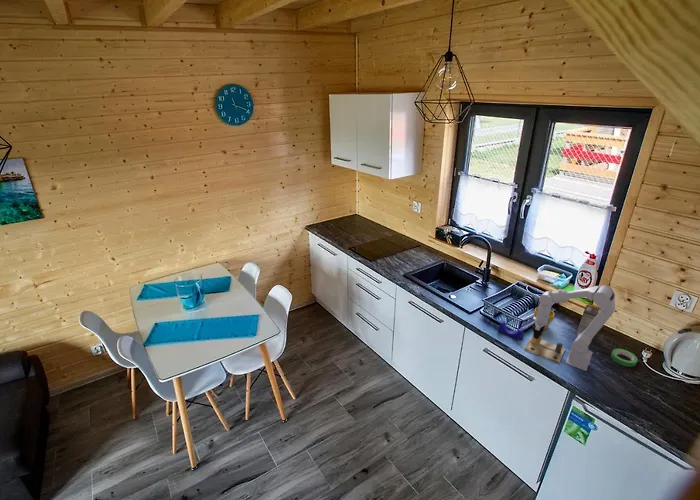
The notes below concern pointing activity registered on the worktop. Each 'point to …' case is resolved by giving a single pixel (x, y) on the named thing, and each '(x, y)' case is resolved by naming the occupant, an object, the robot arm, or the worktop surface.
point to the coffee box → (587, 318)
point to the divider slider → (536, 340)
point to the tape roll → (621, 361)
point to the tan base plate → (546, 350)
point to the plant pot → (551, 317)
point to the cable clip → (511, 333)
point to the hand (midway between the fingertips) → (537, 334)
